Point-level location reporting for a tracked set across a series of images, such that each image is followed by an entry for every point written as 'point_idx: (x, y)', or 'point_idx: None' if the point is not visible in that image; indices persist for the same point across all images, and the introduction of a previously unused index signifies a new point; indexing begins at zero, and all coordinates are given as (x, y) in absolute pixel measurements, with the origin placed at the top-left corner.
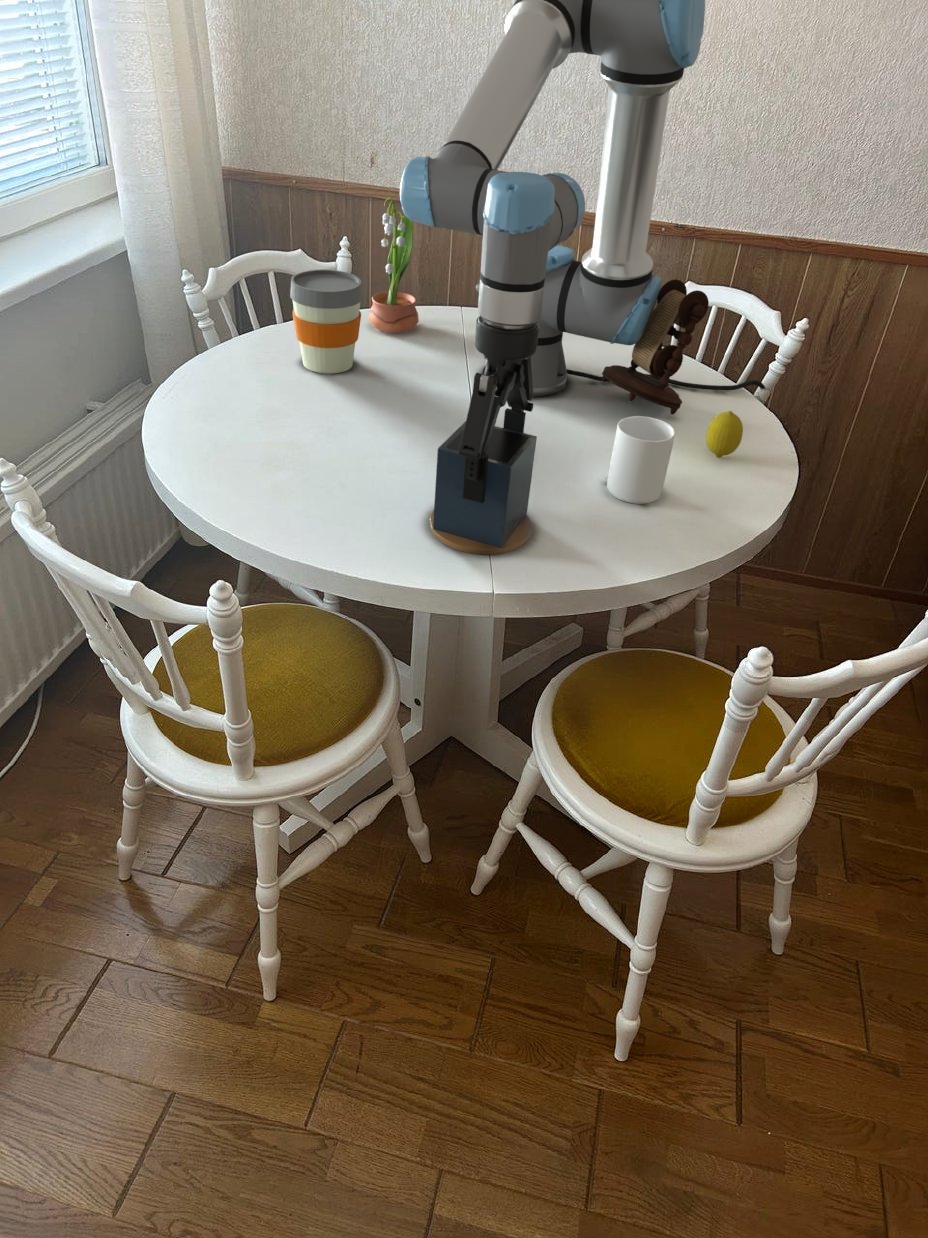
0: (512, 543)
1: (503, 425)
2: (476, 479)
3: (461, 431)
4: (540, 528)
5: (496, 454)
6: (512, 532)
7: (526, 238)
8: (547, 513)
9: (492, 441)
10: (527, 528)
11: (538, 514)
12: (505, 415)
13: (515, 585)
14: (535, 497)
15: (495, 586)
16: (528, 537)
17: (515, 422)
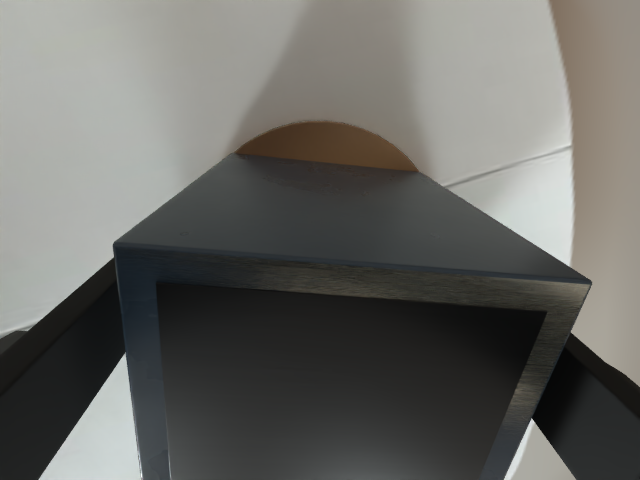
0: (390, 152)
1: (78, 420)
2: (618, 371)
3: None
4: (261, 101)
5: (460, 378)
6: (348, 165)
7: None
8: (173, 100)
9: (322, 426)
10: (303, 133)
11: (192, 124)
12: (37, 475)
13: (542, 101)
14: (108, 153)
15: (553, 146)
16: (330, 121)
17: (45, 398)
